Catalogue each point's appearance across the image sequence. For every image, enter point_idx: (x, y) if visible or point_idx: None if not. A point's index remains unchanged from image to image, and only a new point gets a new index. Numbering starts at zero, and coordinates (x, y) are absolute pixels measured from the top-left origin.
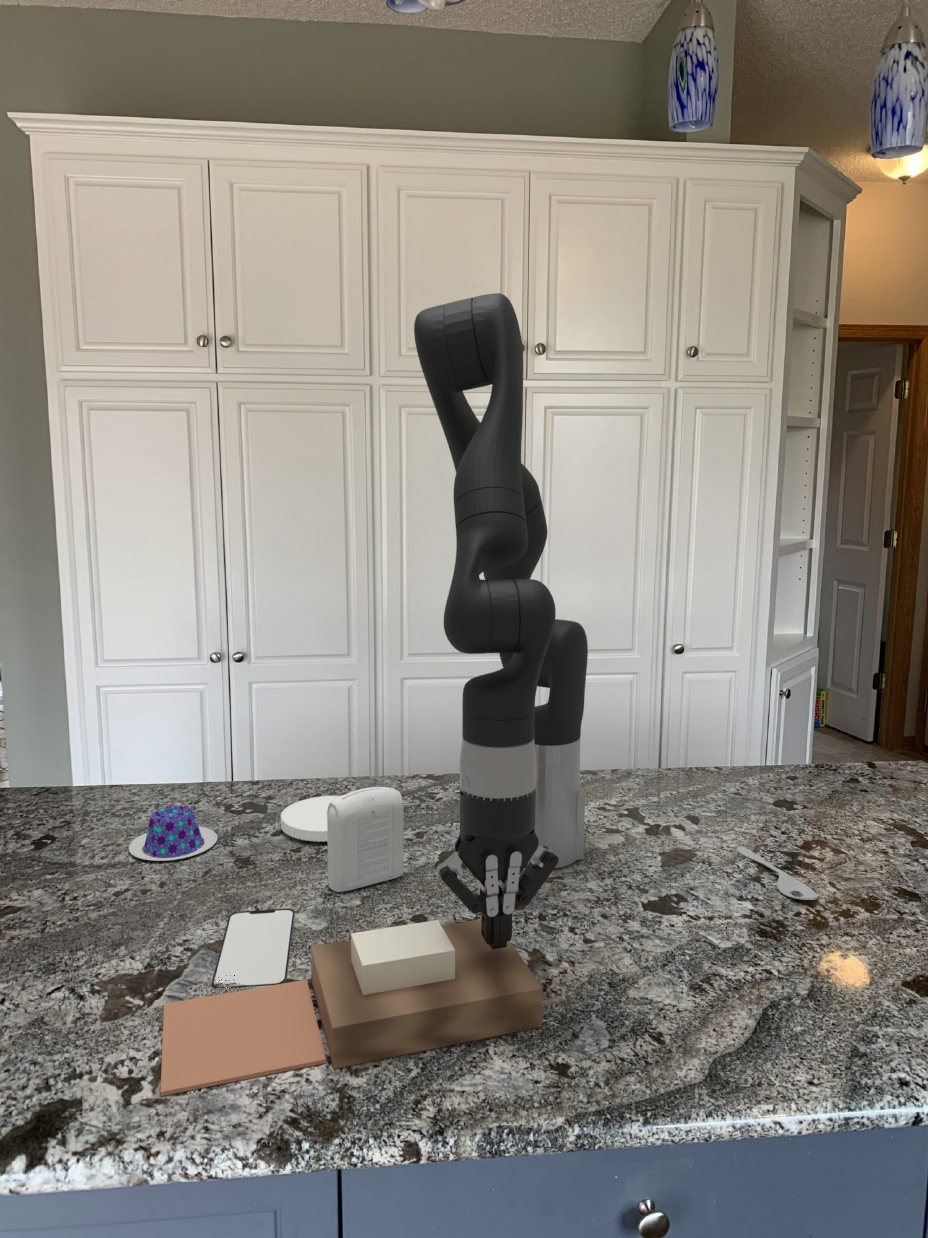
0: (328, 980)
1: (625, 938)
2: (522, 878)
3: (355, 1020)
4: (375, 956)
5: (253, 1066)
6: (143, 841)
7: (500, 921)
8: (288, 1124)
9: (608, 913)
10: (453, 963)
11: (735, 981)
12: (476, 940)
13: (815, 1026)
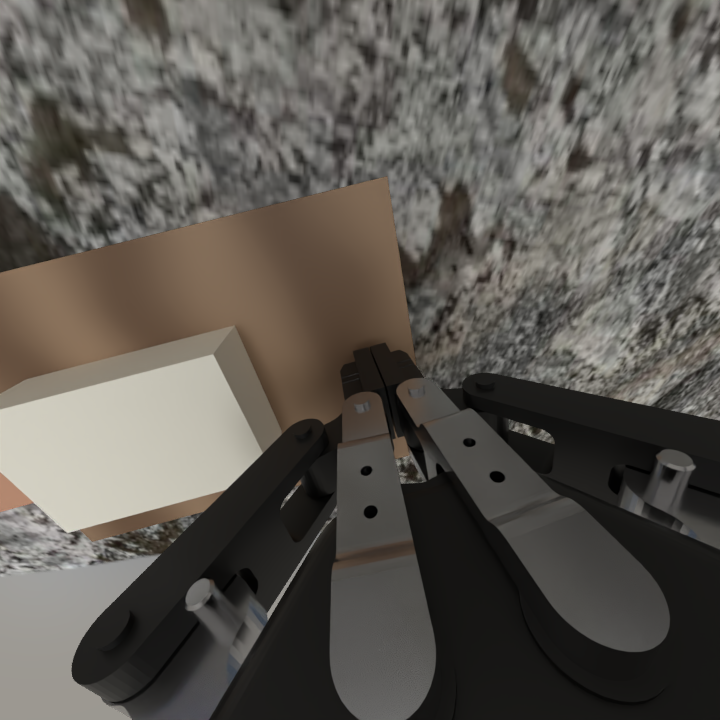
0: None
1: (652, 158)
2: (530, 423)
3: (124, 526)
4: (83, 505)
5: (7, 497)
6: None
7: (393, 425)
8: (113, 547)
9: (698, 4)
10: None
11: (708, 318)
12: (329, 301)
13: (707, 405)
